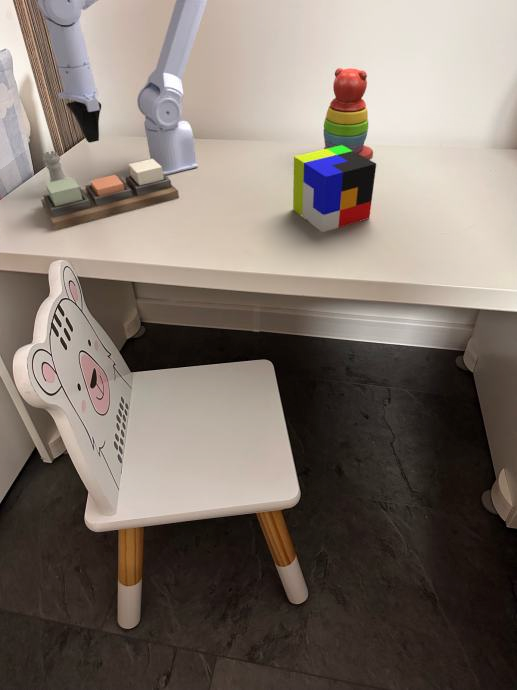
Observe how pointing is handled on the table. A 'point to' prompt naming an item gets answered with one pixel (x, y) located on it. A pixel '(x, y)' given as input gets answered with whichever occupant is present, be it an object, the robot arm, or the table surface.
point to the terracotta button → (106, 185)
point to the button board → (108, 202)
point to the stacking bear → (348, 113)
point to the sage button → (64, 191)
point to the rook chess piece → (53, 166)
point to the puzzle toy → (333, 187)
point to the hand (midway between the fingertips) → (92, 140)
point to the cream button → (146, 171)
